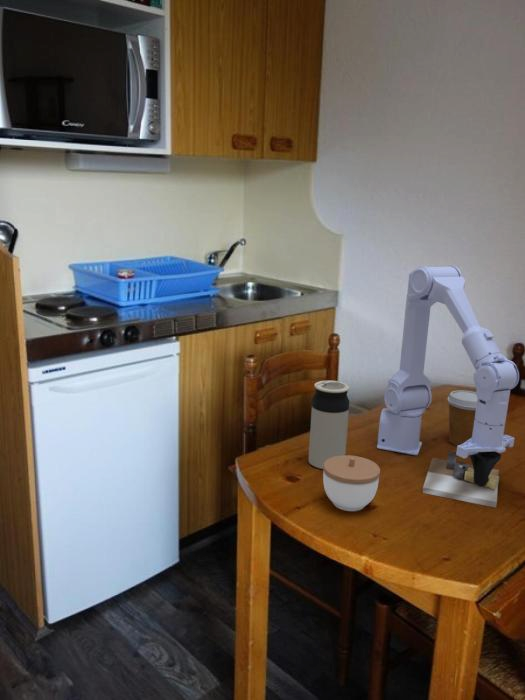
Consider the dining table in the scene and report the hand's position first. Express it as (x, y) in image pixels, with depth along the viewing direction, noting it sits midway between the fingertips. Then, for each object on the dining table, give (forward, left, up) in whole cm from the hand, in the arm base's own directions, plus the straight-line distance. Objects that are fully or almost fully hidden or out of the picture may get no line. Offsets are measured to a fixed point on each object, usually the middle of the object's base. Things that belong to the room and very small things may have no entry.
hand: (480, 484), depth 125 cm
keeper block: (-6, +8, -1) cm, 11 cm away
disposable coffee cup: (-5, +27, -2) cm, 27 cm away
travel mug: (-32, 0, -2) cm, 32 cm away
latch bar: (-1, +2, 0) cm, 2 cm away
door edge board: (-4, +3, -2) cm, 5 cm away
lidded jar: (-23, -16, -2) cm, 28 cm away
